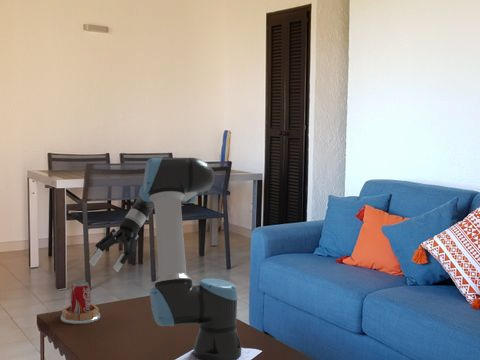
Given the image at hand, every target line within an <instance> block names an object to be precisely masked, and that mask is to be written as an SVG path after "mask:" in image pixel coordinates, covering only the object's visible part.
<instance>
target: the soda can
mask: <svg viewBox="0 0 480 360" xmlns="http://www.w3.org/2000/svg"><path fill="white" fill-rule="evenodd" d="M90 304H91V287H90V284H89V282H88V281H83V280H80V281H75V282H73V283H72V285H71V287H70V305H71V313H85V312H90Z"/></svg>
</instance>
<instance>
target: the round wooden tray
mask: <svg viewBox="0 0 480 360" xmlns="http://www.w3.org/2000/svg"><path fill="white" fill-rule="evenodd" d="M61 310H62V314H61V316H60V321H61V322H62V323H65V324H68V325H87V324H91V322H92V323H94V321H95V322H97V321H99V320H100V318H101V312H99V311H100V310H99V306H96V305H95V304H93V303H90V312H85V313H71V304H69V305H67V306H66V307H64V308H63V309H61Z"/></svg>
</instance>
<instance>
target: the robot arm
mask: <svg viewBox="0 0 480 360" xmlns="http://www.w3.org/2000/svg"><path fill="white" fill-rule="evenodd" d="M214 183H215V172H214V169H213V167H211V165H210V164H209V163H207V162H206V161H205V160H202V159H200V158H197V157H162V156H161V157H150V158H149V159H148V160H147V162H146V164H145V169H144V175H143V184H142V185H141V187H140V188H139V191H138V195H137V199H136V200H135V202H134V204H133V205H132V207H131V208H130V209H129V211H128V212H127V214H126V215H125V218H123V220H122V221H121V222H120V224H119V229H118V230H116V228H112V229H111V230H110V231H109V233H108V234H106V235H105V236H104V237H103V238H101V239H100V240H99V241H98V242H97V243H96V244H95V245H94V246H95V247H96V250H95V252H94V253H93V255H92V257H91V258H90V260H89V261H88V262H89V264H90V265H91V266H92V267H95V266H96V264H97V263H98V261H100V259H101V258H102V256H103V254H104V251H105V250H107V249H109V248H111V247H112V246H114V245H115V244H123V253H121V254H120V256H119V258H117V261H116V262H115V264H114V265H113V267H112V269H113V270H114V271H115V272H116V273H118V272H119V271H120V270H121V269H122V266H124V264H125V263H126V262H127V260H128V259H129V258H135V255H136V252H137V251H136V250H137V245H138V241H139V239H140V236H139V235H138V233H139V231H140V230H141V228H142V227H143V225H144V224H145V222H146V220H147V219H148V217H149V216H150V215H151V214H152V212H153V210H154V217H155V235H156V247H157V249H156V250H157V264H158V278H157V279H156V280H155V281H154V287H152V288H151V289H150V290H149V297H150V299H149V302H150V308H151V311H152V316H153V319H154V322H155V323H156V324H157V325H158V326H159V327H174V326H185V325H195V324H198V325H199V330H198V333H197V336H196V338H195V342H194V345H193V355H194V356H195V357H196V358H197V359H199V360H201V359H202V360H234V359H235V360H236V359H238V358H240V357H241V355H242V344H241V340H240V337H239V334H238V331H237V319H238V318H237V316H238V315H237V313H238V312H237V310H238V309H237V307H238V292H237V290H238V289H237V286H236V285H235V284H233V283H232V282H230V281H228V280H224V279H219V278H204V279H201V280H200V281H199V285H194V284H193V279H192V278H191V277H190V276H189V275H188V274H187V262H186V261H187V260H186V250H185V249H186V248H185V239H184V226H183V223H184V222H183V216H182V215H183V213H182V212H183V211H182V204H185V205H186V204H193V203H195V202H196V199H197V194H201V193H205V192H207V191H208V190H210V189H211V188H212V187H213V185H214Z"/></svg>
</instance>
